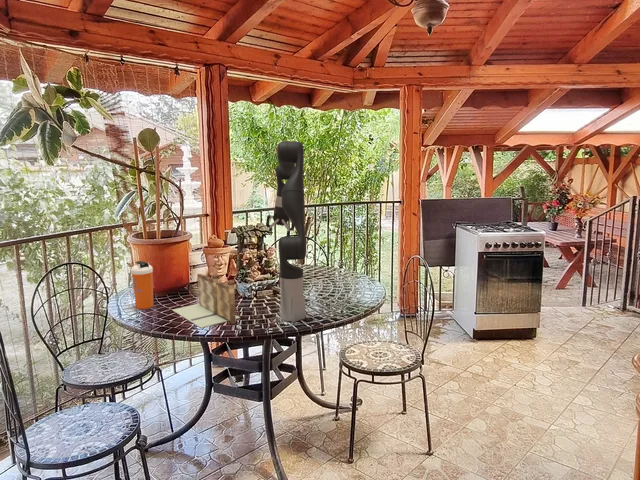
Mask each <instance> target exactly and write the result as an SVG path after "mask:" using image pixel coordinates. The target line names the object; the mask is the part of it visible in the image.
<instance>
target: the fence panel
mask: <svg viewBox="0 0 640 480" xmlns="http://www.w3.org/2000/svg"><path fill="white" fill-rule="evenodd" d="M196 276H197V286H198V289H197V290H198V304H200V305H202V306H203V307H205V308H207V309H209V310H211V311H213V312H214V295H213V278H212V277H210V276H207V275H205V274H202V273H197V274H196Z"/></svg>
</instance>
